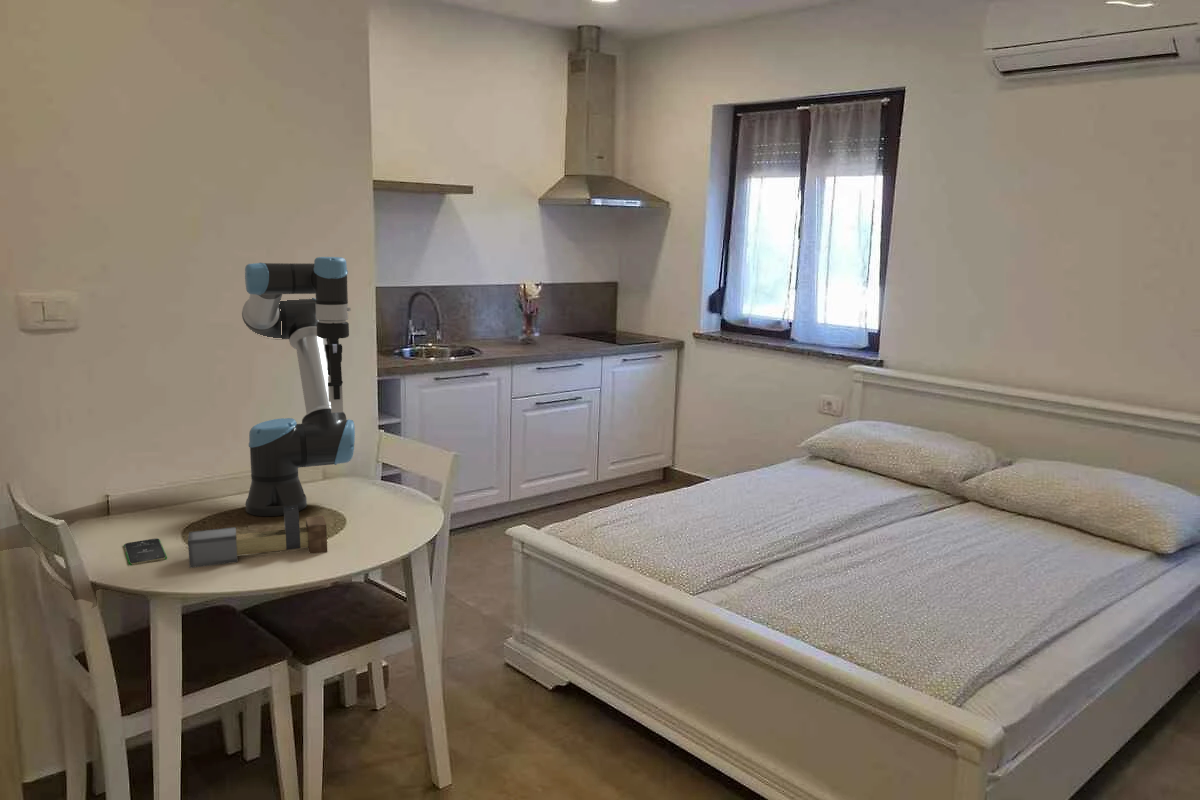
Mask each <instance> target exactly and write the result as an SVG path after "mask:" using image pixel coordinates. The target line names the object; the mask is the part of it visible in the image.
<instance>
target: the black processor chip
mask: <svg viewBox="0 0 1200 800" xmlns="http://www.w3.org/2000/svg"><path fill="white" fill-rule="evenodd" d="M123 549H124V551H125V556H126V559H127V564H128V565H129V566H137V565H143V564H149V563H154V562H160V561H161V562H162V561H167V559H168V556H167V554H166V552H165V548H164V547H163V544H162V542H161V539H160V538H157V537H156V538H150V539H143V540H138V541H132V542H126V543H124V544H123Z"/></svg>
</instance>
